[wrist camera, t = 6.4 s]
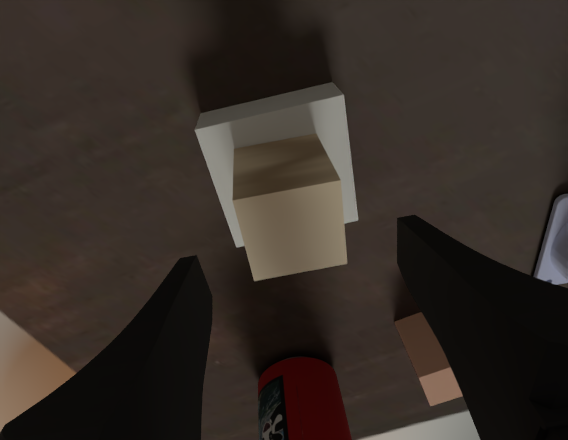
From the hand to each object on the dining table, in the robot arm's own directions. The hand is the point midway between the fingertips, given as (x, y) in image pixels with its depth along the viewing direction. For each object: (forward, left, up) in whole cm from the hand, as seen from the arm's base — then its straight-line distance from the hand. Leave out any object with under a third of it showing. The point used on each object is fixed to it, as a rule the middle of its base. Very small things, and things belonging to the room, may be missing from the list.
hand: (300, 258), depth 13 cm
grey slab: (0, 0, -10) cm, 10 cm away
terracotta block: (-9, +17, -9) cm, 21 cm away
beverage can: (+2, +20, -9) cm, 22 cm away
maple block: (0, 0, -7) cm, 7 cm away
